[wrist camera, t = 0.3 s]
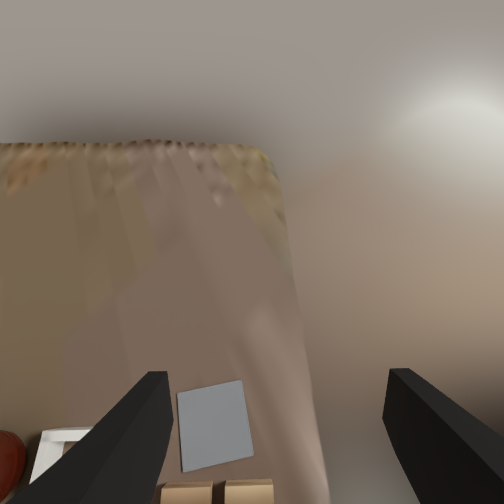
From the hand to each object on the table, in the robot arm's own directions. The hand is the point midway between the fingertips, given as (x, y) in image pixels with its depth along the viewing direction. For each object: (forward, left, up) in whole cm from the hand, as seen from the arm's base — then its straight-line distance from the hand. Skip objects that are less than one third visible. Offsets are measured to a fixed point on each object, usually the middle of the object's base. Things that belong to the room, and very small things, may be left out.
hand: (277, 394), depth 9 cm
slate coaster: (-3, +5, -30) cm, 30 cm away
